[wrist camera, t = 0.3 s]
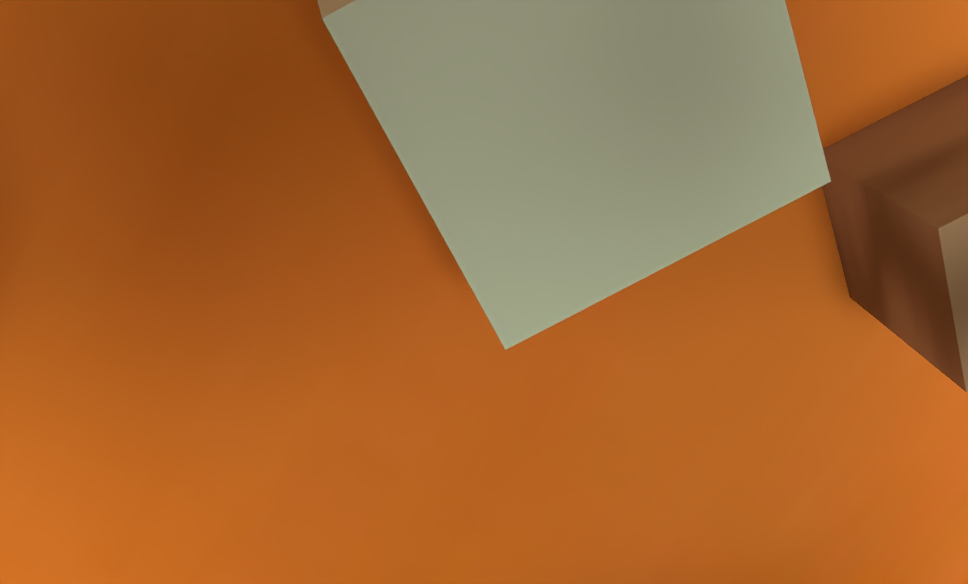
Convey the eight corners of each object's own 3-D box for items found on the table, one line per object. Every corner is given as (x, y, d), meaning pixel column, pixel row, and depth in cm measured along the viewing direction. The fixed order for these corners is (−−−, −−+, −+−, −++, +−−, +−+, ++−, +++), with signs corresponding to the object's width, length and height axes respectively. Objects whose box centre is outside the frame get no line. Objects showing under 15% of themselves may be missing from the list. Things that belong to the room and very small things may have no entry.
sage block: (744, 126, 22) (830, 181, 19) (469, 269, 23) (505, 349, 19) (646, -198, 18) (733, -202, 15) (312, -19, 19) (321, 18, 15)
